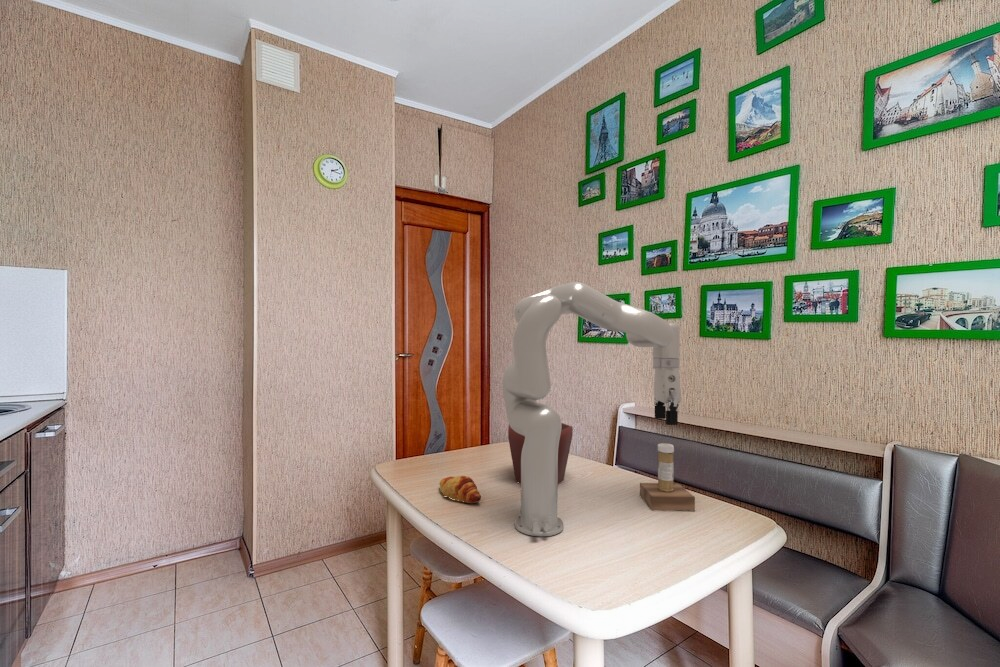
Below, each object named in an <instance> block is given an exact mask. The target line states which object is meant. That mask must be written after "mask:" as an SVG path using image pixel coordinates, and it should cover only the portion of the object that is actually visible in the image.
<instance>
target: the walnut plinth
mask: <svg viewBox="0 0 1000 667" xmlns="http://www.w3.org/2000/svg"><path fill="white" fill-rule="evenodd" d="M673 488H674V490H673V491H672V492H665V491H661V490H659V489H658V482H639V497H640V496H641V497H640V498H641V499H642V500H643V502H644V503H645V502H646V506H648V507H649V509H650V508H651V509H652V510H695V511H696V499H695V498H696V497H695V495H693V494H692V493H691V492H690V491H688V490H687V489H686V488H684V486H682V485H681V484H680V483H674V482H673ZM651 509H650V510H651ZM652 510H651V511H652Z"/></svg>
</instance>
